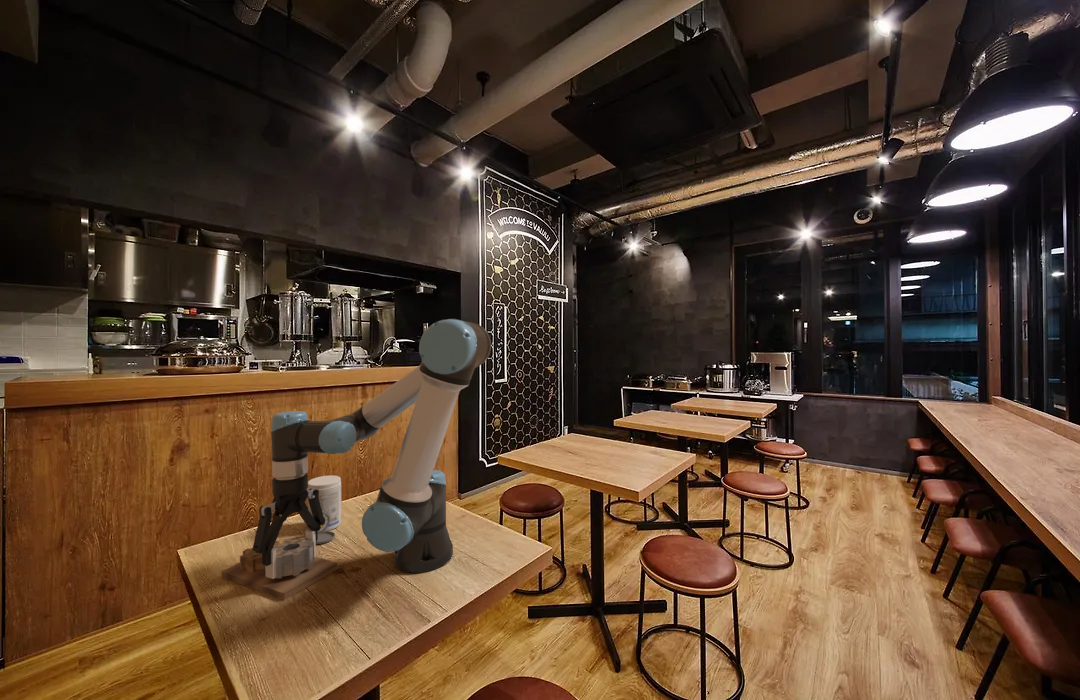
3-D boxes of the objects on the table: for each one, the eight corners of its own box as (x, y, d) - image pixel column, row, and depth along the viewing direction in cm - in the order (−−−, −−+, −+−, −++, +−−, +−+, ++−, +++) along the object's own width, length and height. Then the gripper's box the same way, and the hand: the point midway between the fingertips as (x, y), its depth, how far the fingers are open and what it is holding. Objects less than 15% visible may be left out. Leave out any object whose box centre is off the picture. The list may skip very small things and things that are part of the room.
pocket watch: (324, 546, 117) (323, 511, 116) (298, 543, 118) (297, 509, 118) (343, 533, 125) (343, 500, 124) (319, 531, 126) (318, 498, 126)
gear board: (338, 568, 105) (337, 543, 105) (284, 600, 92) (284, 571, 92) (277, 551, 114) (277, 527, 114) (221, 577, 101) (221, 551, 101)
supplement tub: (314, 521, 133) (313, 475, 133) (345, 518, 135) (345, 474, 135) (302, 534, 124) (301, 485, 124) (336, 532, 125) (335, 484, 125)
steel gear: (322, 561, 104) (322, 542, 104) (285, 581, 95) (285, 560, 95) (296, 554, 108) (296, 535, 108) (258, 572, 99) (258, 552, 99)
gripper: (319, 461, 113) (321, 543, 113) (231, 487, 92) (233, 587, 93) (339, 464, 110) (340, 548, 110) (253, 492, 89) (254, 595, 90)
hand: (291, 566), depth 101 cm, fingers closed on steel gear, 9 cm apart
